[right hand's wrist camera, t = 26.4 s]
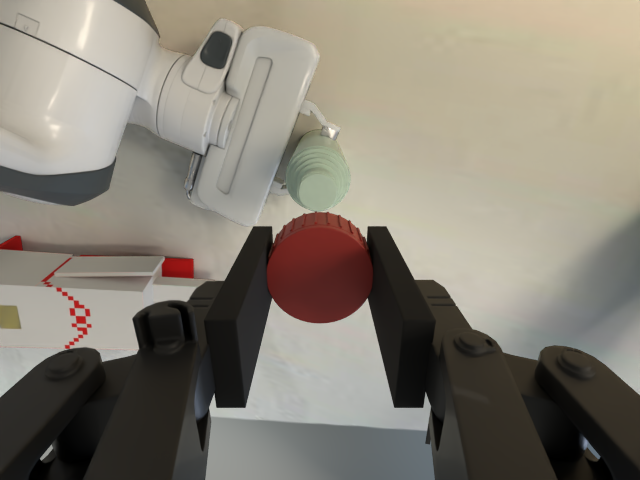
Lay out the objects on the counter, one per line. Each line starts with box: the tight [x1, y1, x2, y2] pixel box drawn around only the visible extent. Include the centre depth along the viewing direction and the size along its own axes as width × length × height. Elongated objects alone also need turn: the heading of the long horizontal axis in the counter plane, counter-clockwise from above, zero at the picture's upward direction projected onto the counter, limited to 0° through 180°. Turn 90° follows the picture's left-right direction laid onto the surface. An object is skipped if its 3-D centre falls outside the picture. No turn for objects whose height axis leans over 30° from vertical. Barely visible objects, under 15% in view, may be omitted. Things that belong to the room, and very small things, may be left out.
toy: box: [0, 236, 215, 350], centre depth 46 cm, size 12×13×30 cm
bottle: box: [285, 130, 350, 212], centre depth 35 cm, size 5×5×22 cm
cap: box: [267, 211, 373, 323], centre depth 14 cm, size 4×4×2 cm
